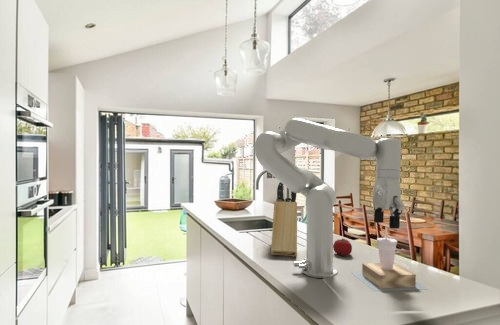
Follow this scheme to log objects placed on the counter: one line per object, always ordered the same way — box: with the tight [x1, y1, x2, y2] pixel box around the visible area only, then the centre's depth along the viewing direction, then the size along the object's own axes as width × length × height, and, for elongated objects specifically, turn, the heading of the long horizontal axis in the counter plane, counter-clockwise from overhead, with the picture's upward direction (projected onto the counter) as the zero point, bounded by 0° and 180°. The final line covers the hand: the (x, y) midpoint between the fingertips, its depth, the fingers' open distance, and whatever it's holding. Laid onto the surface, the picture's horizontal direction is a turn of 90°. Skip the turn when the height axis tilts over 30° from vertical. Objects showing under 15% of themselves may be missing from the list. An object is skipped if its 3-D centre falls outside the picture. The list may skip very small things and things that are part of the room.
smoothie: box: [376, 226, 398, 270], centre depth 104 cm, size 6×6×14 cm
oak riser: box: [361, 262, 417, 288], centre depth 104 cm, size 12×12×4 cm
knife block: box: [270, 181, 298, 257], centre depth 147 cm, size 11×35×31 cm, turn 172°
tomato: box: [333, 238, 353, 257], centre depth 137 cm, size 8×8×7 cm
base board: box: [351, 272, 428, 292], centre depth 104 cm, size 18×16×1 cm
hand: (386, 225), depth 104 cm, fingers open, 9 cm apart
